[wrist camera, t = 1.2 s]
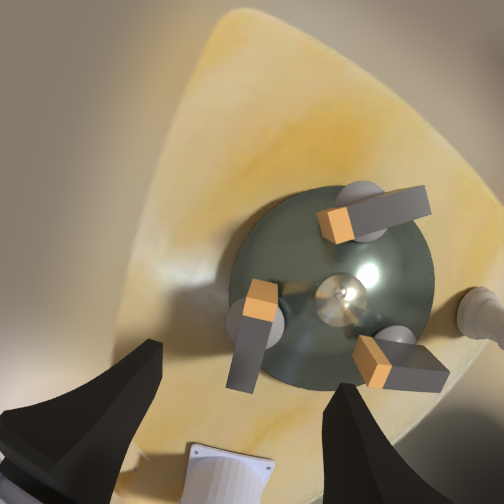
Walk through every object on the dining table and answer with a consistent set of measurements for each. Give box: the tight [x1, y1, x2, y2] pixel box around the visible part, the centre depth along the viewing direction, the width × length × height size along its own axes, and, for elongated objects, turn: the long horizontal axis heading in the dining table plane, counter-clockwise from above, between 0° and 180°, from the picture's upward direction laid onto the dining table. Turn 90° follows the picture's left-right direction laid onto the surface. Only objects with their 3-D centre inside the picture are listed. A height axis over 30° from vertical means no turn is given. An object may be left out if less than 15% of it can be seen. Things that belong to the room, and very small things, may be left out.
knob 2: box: [316, 181, 431, 244], centre depth 17 cm, size 6×4×5 cm
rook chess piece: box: [457, 286, 504, 350], centre depth 16 cm, size 4×4×8 cm
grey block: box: [352, 325, 450, 393], centre depth 18 cm, size 6×4×5 cm
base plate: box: [229, 186, 435, 391], centre depth 20 cm, size 15×15×2 cm
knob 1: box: [225, 279, 284, 394], centre depth 18 cm, size 6×4×5 cm
